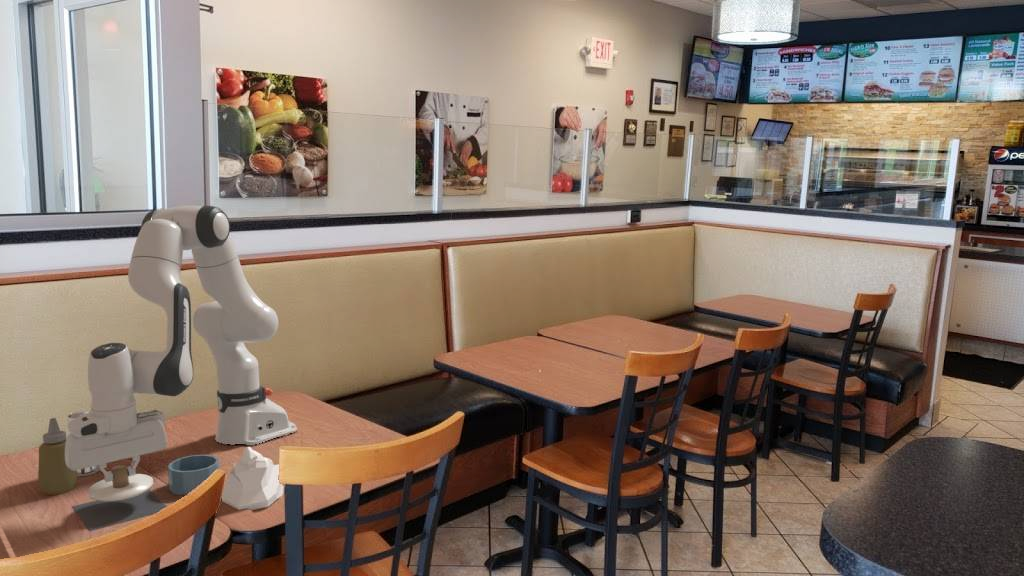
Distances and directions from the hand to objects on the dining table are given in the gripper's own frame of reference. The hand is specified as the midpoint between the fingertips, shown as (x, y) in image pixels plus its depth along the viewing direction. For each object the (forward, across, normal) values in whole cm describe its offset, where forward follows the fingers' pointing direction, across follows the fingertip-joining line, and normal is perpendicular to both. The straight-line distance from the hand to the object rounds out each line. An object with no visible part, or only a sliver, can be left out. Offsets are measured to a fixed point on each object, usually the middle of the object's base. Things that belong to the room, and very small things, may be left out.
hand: (120, 477), depth 173 cm
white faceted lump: (+8, -25, +14) cm, 29 cm away
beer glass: (+8, 0, -31) cm, 32 cm away
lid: (+2, 0, 0) cm, 2 cm away
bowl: (+8, -16, -2) cm, 18 cm away
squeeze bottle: (+8, +8, -21) cm, 24 cm away
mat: (+8, +1, 0) cm, 8 cm away
